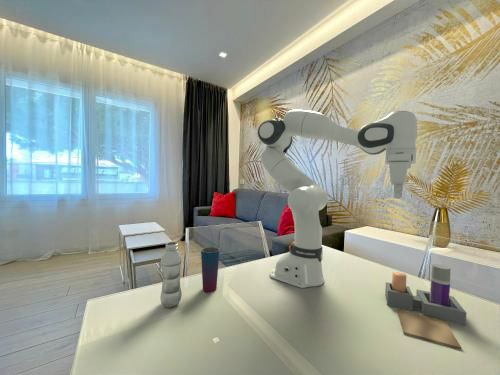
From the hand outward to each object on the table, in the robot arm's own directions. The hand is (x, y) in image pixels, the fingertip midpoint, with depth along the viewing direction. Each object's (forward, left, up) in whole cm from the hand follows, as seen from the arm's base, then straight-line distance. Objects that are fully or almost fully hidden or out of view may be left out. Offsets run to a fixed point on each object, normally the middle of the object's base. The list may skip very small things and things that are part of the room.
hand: (398, 198), depth 78 cm
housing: (+7, -2, -36) cm, 37 cm away
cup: (-61, -26, -36) cm, 76 cm away
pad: (+6, -14, -36) cm, 39 cm away
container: (+12, -2, -36) cm, 38 cm away
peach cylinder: (+1, -2, -34) cm, 34 cm away
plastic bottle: (-66, -40, -36) cm, 85 cm away
